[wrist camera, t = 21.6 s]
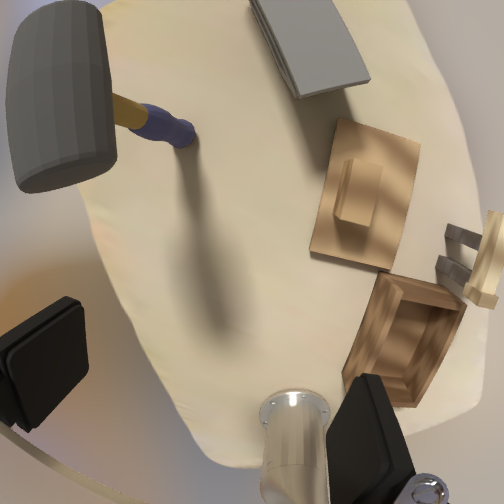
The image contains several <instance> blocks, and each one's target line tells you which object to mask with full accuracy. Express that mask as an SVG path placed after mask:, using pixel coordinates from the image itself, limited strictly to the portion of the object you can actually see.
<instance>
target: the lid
mask: <svg viewBox="0 0 504 504" xmlns="http://www.w3.org/2000/svg"><path fill="white" fill-rule="evenodd" d="M420 147H421V144H419V143H416V142H414V141H411V140H408V139H406V138H403V137H400V136H397V135H394V134H391V133H388V132H385V131H382V130H379V129H376V128H373V127H370V126H366V125H363V124H360V123H356V122H353V121H349V120H346V119H342V118H338V119H337V125H336V130H335V135H334V140H333V145H332V150H331V155H330V160H329V164H328V169H327V174H326V178H325V183H324V187H323V192H322V196H321V201H320V205H319V209H318V214H317V218H316V222H315V226H314V230H313V234H312V238H311V242H310V246H309V250H310V251H314V252H318V253H322V254H327V255H331V256H335V257H339V258H344V259H348V260H352V261H356V262H360V263H365V264H369V265H373V266H377V267H381V268H385V269H390V270H391V268H392V265H393V262H394V259H395V255H396V252H397V248H398V245H399V241H400V238H401V234H402V230H403V227H404V223H405V219H406V215H407V211H408V207H409V202H410V198H411V194H412V189H413V184H414V180H415V175H416V170H417V164H418V159H419V153H420Z"/></svg>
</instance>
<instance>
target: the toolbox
mask: <svg viewBox="0 0 504 504" xmlns="http://www.w3.org/2000/svg"><path fill="white" fill-rule="evenodd" d="M445 237H448V238H450V239H452V240H455V241H457V242H459V243H462V244H464V245H466V246H468V247H470V248H473V249H475V250H477V251H478V250H479V247H480V243H481V239H482V235H480V234H477V233H474V232H471V231H469V230H466V229H463V228H460V227H457V226H454V225H451V224H447V228H446V232H445ZM435 268H437V269H438V270H440V271H441V272H443V273H444V274H445V275H447V276H448V277H450V278H451V279H453V280H454V281H455V282H457V283H458V284H460V285H461V286H462V287H464V286H465V284H466V282H467V283H468V282H469V279H470V276H471V273H472V270H470V269H468V268H466V267H465V266H463V265H461V264H460V263H458V262H456V261H454V260H453V259H451V258H448V257H444V256H441V255H439V257H438V260H437V263H436V267H435ZM466 308H467V305H466V304H465V303H464V302H463V301H461V300H460V299H459V298H458V297H457V296H455V295H454V294H453V293H451V292H450V291H449V290H448V289H446V288H445V287H444V286H441V285H437V284H433V283H429V282H425V281H420V280H416V279H412V278H408V277H403V276H399V275H395V274H391V273H386V272H382V271H379V272H378V275H377V278H376V282H375V285H374V288H373V291H372V294H371V297H370V300H369V303H368V306H367V308H366V311H365V314H364V317H363V320H362V322H361V325H360V328H359V330H358V333H357V336H356V338H355V341H354V343H353V346H352V348H351V351H350V353H349V356H348V358H347V361H346V363H345V365H344V368H343V370H342V376H343V380H344V385H345V389H346V393H347V392H348V390H349V388H350V386H351V384H352V382H353V380H354V378H355V377H356V376H358V377H359V376H360V375H361V374H362V373H369V374H378V375H380V377H381V379H382V382H383V384H384V387H385V390H386V392H387V395H388V397H389V400H390V402H391V405H392V407H407V408H416V407H417V405H418V404H419V402H420V400H421V399H422V397H423V395H424V394H425V392H426V390H427V389H428V387H429V385H430V383H431V382H432V380H433V378H434V376H435V374H436V372H437V371H438V369H439V367H440V365H441V363H442V361H443V359H444V357H445V355H446V353H447V351H448V349H449V347H450V345H451V342H452V340H453V338H454V336H455V334H456V332H457V329H458V327H459V325H460V322H461V320H462V318H463V315H464V313H465V310H466Z"/></svg>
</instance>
